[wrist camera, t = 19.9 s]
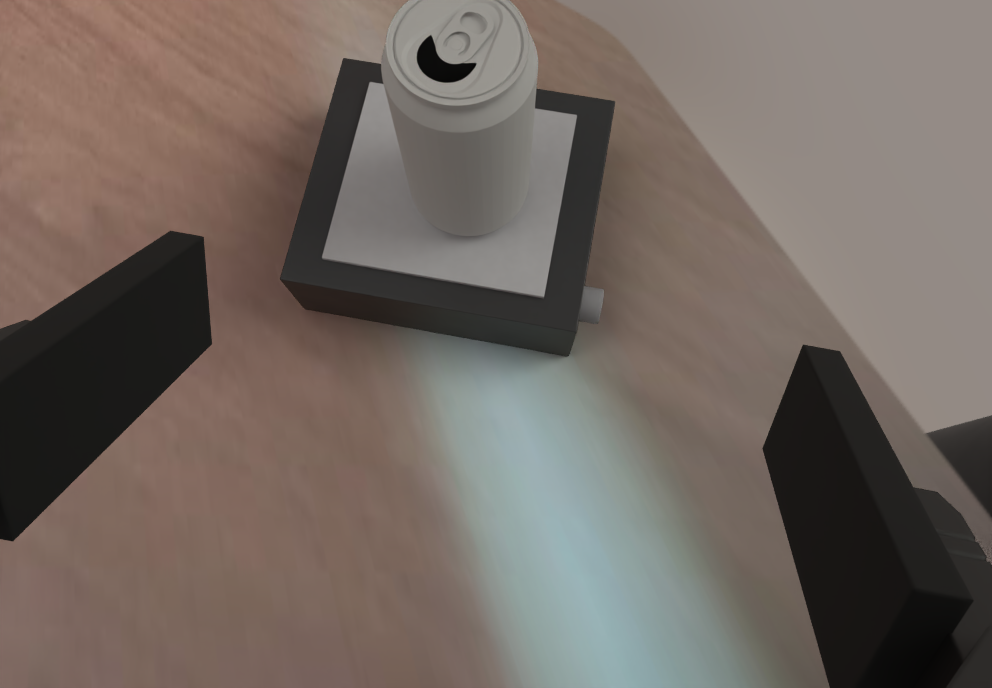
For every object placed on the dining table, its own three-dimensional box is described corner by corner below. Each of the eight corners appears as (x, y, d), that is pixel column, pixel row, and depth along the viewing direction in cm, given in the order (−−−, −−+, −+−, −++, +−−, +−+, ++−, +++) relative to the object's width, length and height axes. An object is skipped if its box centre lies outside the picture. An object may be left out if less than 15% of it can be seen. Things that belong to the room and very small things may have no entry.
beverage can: (388, 200, 40) (341, 57, 28) (458, 116, 41) (441, -53, 30) (482, 264, 39) (474, 143, 27) (552, 175, 40) (572, 24, 28)
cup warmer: (622, 150, 46) (637, 101, 41) (588, 360, 43) (600, 334, 38) (359, 107, 47) (341, 54, 42) (304, 309, 44) (277, 277, 39)
